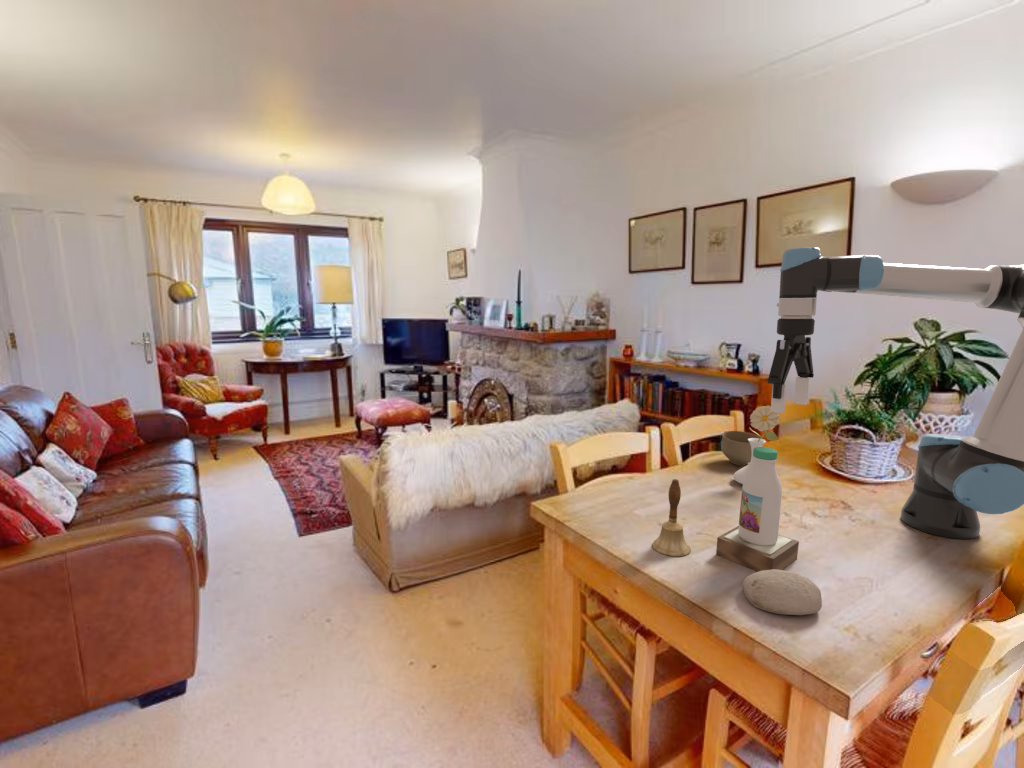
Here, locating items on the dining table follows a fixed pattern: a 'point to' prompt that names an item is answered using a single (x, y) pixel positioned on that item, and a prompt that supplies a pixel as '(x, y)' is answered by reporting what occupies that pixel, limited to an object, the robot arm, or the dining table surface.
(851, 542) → the dining table surface
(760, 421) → the flower in vase
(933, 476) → the robot arm
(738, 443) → the bowl
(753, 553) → the plinth
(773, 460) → the milk bottle
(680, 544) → the hand bell
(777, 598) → the stone
